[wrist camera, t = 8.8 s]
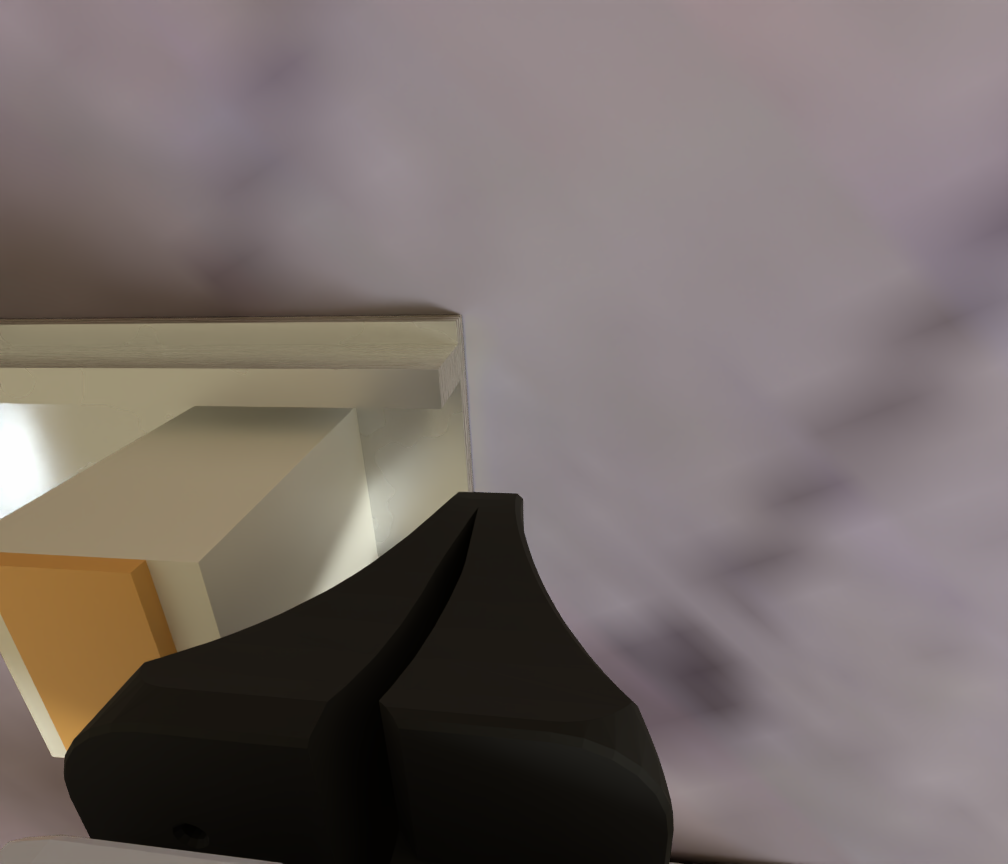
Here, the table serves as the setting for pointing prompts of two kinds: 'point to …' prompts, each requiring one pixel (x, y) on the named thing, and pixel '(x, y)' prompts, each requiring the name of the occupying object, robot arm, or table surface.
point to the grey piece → (239, 395)
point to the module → (176, 549)
